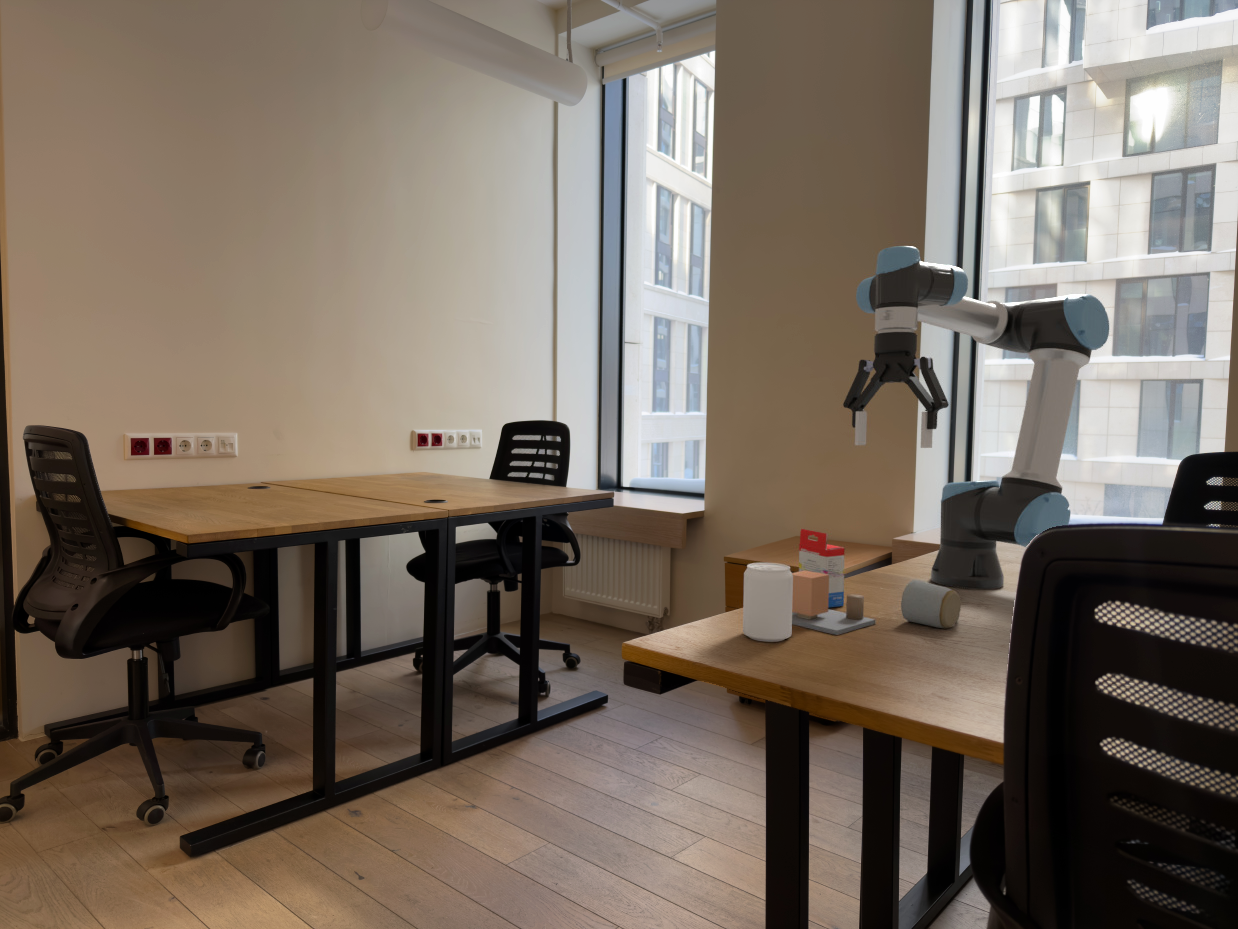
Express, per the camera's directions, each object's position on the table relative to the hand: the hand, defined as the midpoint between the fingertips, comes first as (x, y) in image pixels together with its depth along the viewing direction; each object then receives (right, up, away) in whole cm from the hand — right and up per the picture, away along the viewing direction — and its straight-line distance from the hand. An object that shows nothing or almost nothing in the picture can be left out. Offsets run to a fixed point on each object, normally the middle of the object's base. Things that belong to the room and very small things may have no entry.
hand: (892, 446), depth 153 cm
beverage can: (-26, -33, -15) cm, 45 cm away
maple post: (-17, -32, -5) cm, 36 cm away
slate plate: (-14, -32, -5) cm, 35 cm away
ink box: (-11, -31, +10) cm, 35 cm away
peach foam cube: (-17, -30, -5) cm, 35 cm away
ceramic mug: (+6, -33, -5) cm, 33 cm away
